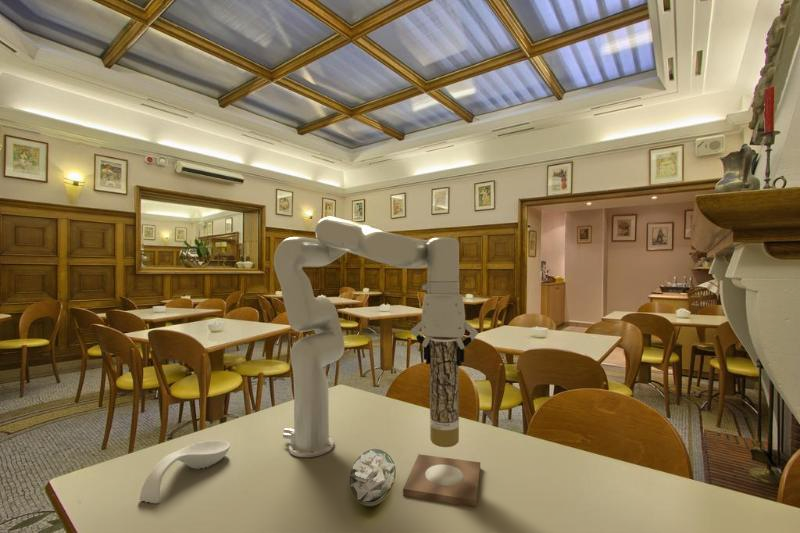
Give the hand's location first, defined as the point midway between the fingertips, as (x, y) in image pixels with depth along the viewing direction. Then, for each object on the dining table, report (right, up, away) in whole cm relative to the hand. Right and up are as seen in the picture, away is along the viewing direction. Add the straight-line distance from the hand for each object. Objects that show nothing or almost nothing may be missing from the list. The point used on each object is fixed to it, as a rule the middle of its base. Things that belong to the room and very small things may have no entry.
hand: (444, 363), depth 88 cm
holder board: (0, -28, 0) cm, 28 cm away
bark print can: (0, -19, 0) cm, 19 cm away
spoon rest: (-63, -29, +3) cm, 69 cm away
